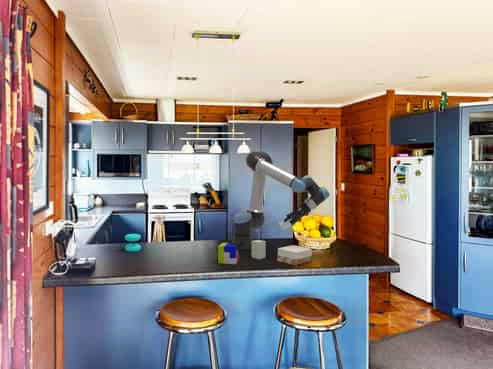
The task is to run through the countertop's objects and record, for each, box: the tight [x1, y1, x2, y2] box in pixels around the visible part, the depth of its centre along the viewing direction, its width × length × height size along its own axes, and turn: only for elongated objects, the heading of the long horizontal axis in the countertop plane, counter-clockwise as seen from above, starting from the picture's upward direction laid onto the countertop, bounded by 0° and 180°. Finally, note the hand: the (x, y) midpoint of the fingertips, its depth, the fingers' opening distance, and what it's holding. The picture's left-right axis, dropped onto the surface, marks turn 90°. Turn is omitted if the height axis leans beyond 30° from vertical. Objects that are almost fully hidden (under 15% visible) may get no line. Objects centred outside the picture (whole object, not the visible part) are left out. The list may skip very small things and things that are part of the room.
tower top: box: [277, 244, 313, 260], centre depth 241 cm, size 14×14×4 cm
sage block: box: [250, 239, 267, 260], centre depth 249 cm, size 6×6×10 cm
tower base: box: [276, 254, 312, 266], centre depth 242 cm, size 14×14×4 cm
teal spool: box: [124, 233, 142, 252], centre depth 266 cm, size 10×10×10 cm
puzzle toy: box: [217, 242, 240, 265], centre depth 239 cm, size 10×10×10 cm
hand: (281, 227), depth 256 cm, fingers open, 13 cm apart
